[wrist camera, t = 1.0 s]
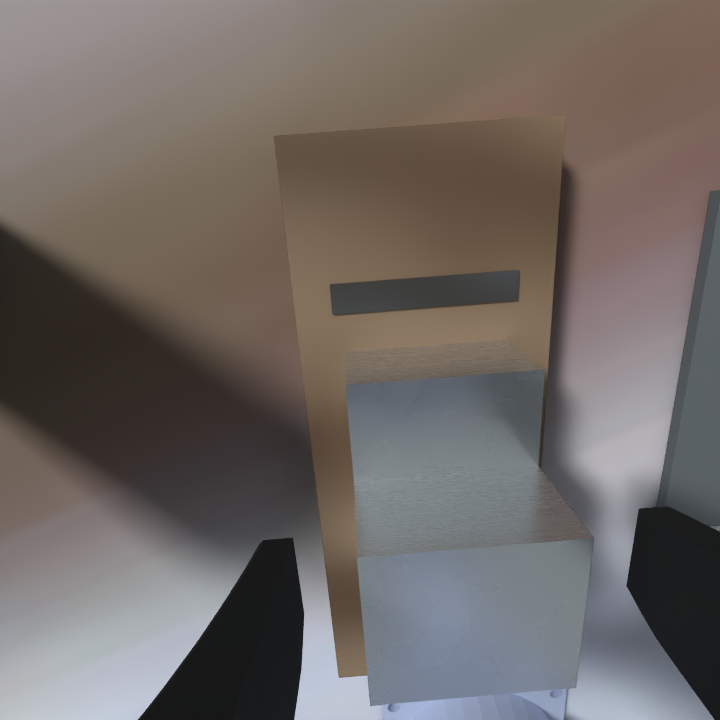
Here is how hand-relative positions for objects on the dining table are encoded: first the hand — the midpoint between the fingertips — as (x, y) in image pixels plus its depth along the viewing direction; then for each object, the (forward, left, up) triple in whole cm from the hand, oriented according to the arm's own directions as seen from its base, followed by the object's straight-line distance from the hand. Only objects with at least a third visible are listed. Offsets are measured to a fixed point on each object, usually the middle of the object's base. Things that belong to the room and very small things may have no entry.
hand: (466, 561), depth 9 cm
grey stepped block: (0, 0, -4) cm, 4 cm away
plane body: (0, 0, -6) cm, 6 cm away
